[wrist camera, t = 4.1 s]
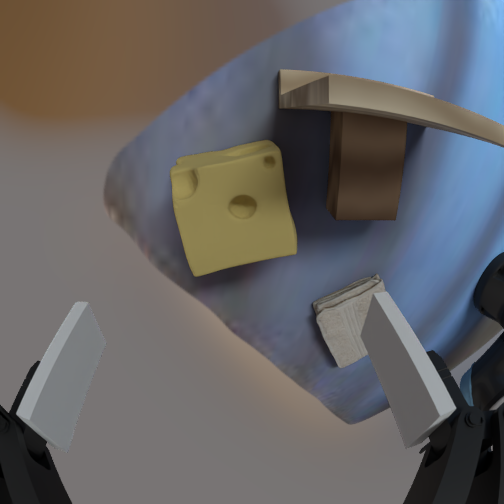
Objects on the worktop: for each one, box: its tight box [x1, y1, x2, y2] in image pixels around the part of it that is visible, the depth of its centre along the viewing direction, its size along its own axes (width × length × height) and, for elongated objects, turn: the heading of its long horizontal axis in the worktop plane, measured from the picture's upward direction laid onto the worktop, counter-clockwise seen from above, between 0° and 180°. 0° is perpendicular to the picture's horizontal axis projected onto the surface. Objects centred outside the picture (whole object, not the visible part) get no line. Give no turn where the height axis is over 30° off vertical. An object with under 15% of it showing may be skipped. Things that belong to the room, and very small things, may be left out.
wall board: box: [279, 69, 504, 220], centre depth 22 cm, size 16×20×18 cm
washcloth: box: [313, 273, 386, 368], centre depth 42 cm, size 12×18×3 cm, turn 28°
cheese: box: [170, 140, 297, 277], centre depth 27 cm, size 10×11×10 cm
